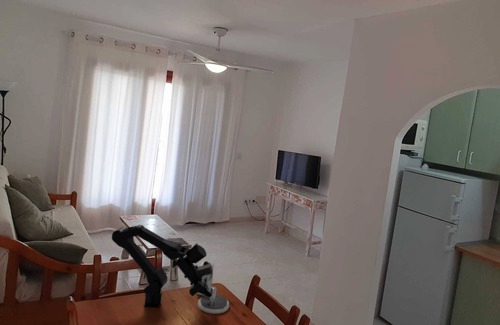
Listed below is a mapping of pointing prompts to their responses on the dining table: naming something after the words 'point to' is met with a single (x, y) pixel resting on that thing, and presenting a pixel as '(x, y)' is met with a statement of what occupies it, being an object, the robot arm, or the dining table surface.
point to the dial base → (212, 311)
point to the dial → (214, 300)
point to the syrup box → (209, 279)
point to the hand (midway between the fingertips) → (210, 296)
